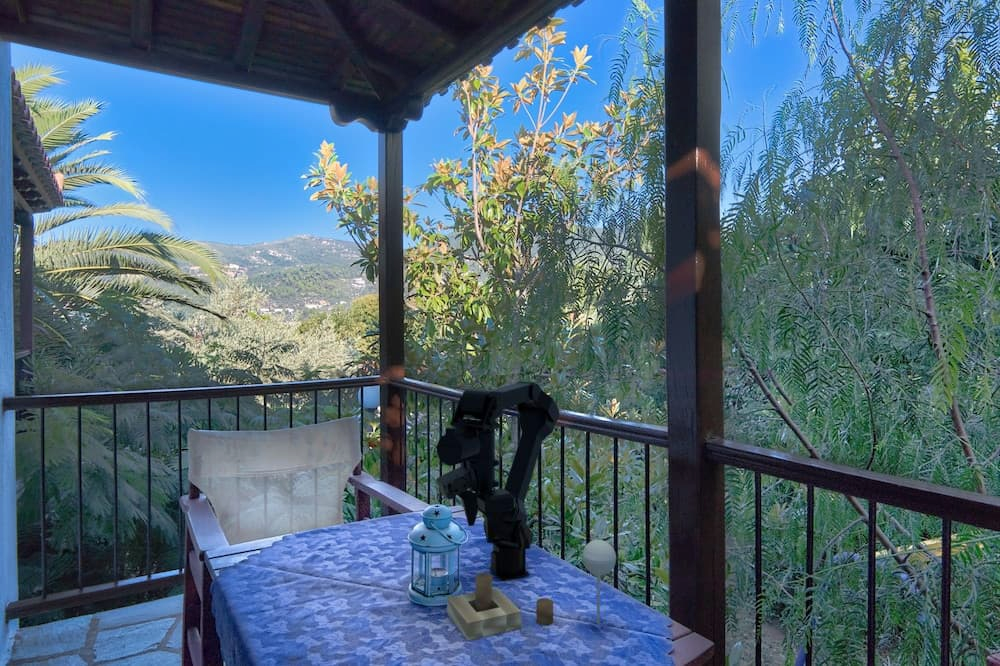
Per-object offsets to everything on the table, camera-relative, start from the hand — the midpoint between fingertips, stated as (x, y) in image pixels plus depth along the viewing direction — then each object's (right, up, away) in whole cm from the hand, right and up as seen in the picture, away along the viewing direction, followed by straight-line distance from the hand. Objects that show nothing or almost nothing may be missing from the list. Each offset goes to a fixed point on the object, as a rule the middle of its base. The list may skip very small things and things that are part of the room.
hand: (480, 533), depth 120 cm
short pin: (+12, -12, -10) cm, 20 cm away
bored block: (+1, -12, -10) cm, 16 cm away
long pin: (+1, -12, -10) cm, 16 cm away
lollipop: (+21, -13, -12) cm, 27 cm away
